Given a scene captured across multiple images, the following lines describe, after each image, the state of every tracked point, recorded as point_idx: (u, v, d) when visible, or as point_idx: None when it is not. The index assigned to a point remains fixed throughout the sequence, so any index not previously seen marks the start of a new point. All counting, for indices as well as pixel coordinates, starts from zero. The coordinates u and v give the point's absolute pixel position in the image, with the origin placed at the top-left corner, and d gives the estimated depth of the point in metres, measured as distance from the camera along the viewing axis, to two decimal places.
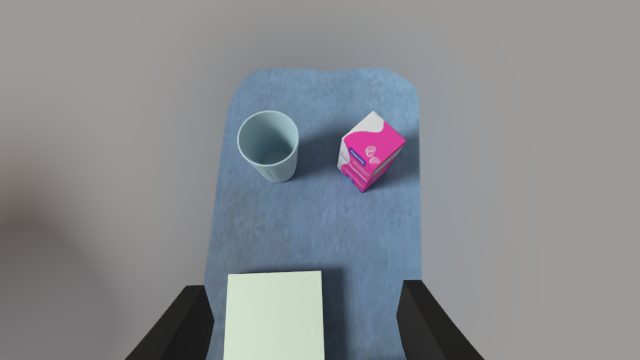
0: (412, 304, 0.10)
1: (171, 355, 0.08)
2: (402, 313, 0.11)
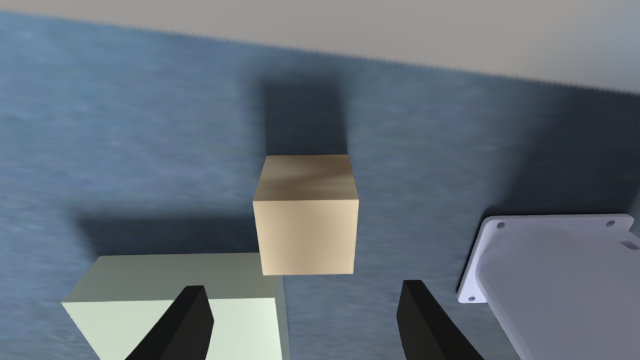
0: (412, 304, 0.10)
1: (171, 355, 0.08)
2: (402, 313, 0.11)
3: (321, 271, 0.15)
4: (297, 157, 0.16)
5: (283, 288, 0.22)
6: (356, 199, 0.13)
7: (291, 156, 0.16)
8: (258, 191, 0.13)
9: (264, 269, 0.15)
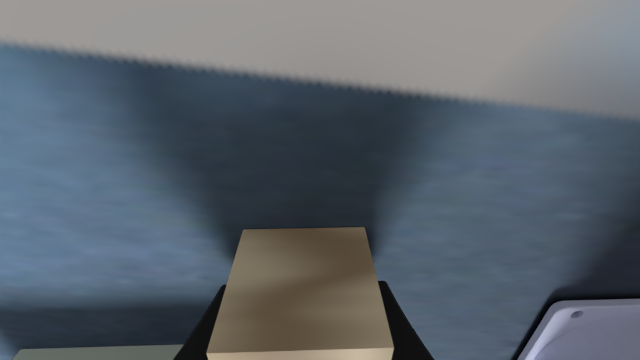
0: None
1: None
2: None
3: None
4: (289, 235, 0.11)
5: None
6: (389, 346, 0.07)
7: (280, 233, 0.11)
8: (219, 323, 0.08)
9: None
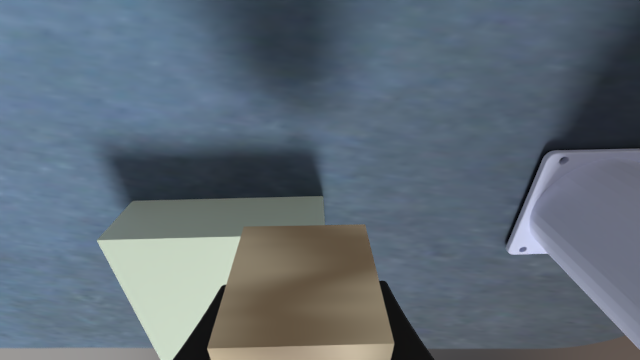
0: None
1: None
2: None
3: None
4: (289, 232, 0.11)
5: None
6: (389, 342, 0.07)
7: (280, 230, 0.11)
8: (220, 319, 0.08)
9: None
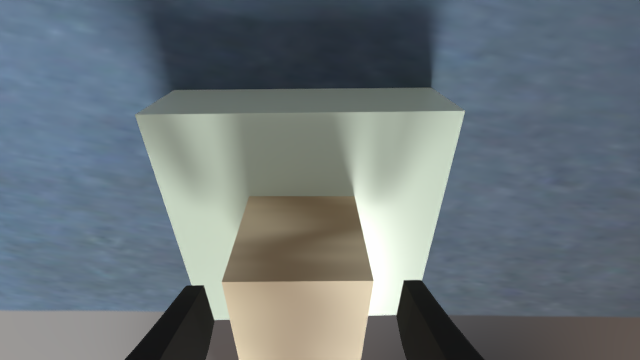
0: (412, 304, 0.10)
1: (171, 355, 0.08)
2: (402, 313, 0.11)
3: (318, 359, 0.11)
4: (289, 201, 0.12)
5: None
6: (370, 280, 0.09)
7: (281, 199, 0.12)
8: (231, 262, 0.09)
9: (241, 357, 0.11)
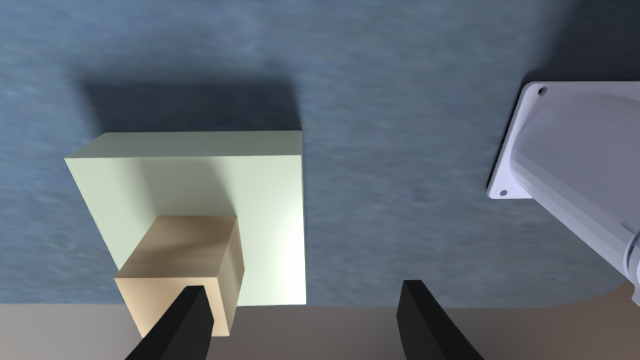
0: (412, 304, 0.10)
1: (171, 355, 0.08)
2: (402, 313, 0.11)
3: None
4: (185, 219, 0.17)
5: (303, 179, 0.20)
6: (214, 276, 0.13)
7: (180, 218, 0.17)
8: (126, 265, 0.14)
9: (142, 332, 0.15)
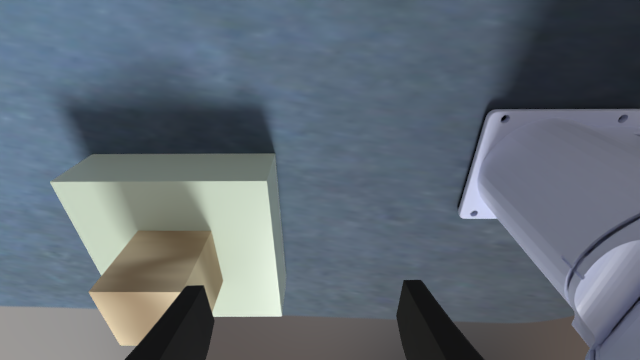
0: (412, 304, 0.10)
1: (171, 355, 0.08)
2: (402, 313, 0.11)
3: None
4: (162, 234, 0.18)
5: (278, 198, 0.21)
6: (180, 291, 0.14)
7: (158, 233, 0.18)
8: (101, 279, 0.15)
9: (119, 341, 0.16)
